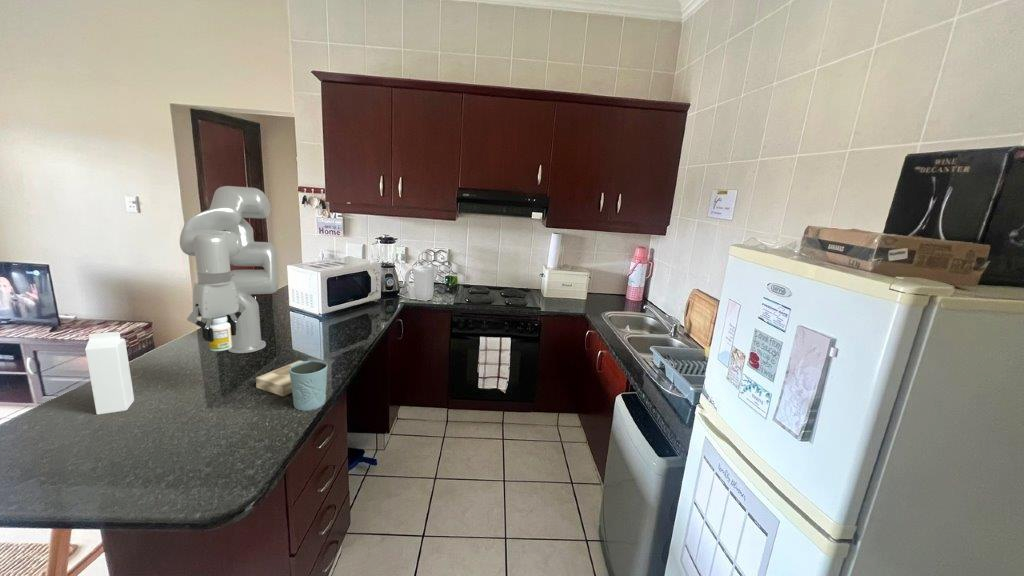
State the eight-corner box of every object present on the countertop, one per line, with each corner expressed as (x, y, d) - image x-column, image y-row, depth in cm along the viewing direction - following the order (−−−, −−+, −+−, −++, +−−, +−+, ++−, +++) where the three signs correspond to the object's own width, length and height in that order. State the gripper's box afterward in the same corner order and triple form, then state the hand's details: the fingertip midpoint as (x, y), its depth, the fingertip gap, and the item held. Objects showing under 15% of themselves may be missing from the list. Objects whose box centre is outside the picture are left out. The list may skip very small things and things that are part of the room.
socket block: (256, 387, 121) (255, 377, 120) (299, 369, 136) (299, 360, 135) (283, 396, 117) (282, 386, 116) (325, 376, 132) (324, 367, 131)
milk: (126, 410, 104) (115, 335, 99) (96, 415, 101) (82, 338, 96) (134, 400, 109) (124, 328, 105) (105, 404, 106) (93, 330, 102)
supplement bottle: (218, 344, 114) (215, 313, 112) (236, 345, 115) (234, 314, 113) (205, 351, 109) (201, 319, 107) (224, 352, 109) (221, 320, 107)
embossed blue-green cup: (290, 414, 108) (288, 376, 106) (291, 398, 117) (289, 362, 114) (329, 408, 113) (328, 371, 110) (328, 392, 122) (326, 358, 119)
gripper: (237, 271, 116) (242, 327, 120) (170, 280, 101) (178, 343, 105) (253, 275, 114) (257, 331, 118) (187, 284, 98) (195, 349, 102)
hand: (220, 336), depth 111 cm, fingers closed on supplement bottle, 5 cm apart
